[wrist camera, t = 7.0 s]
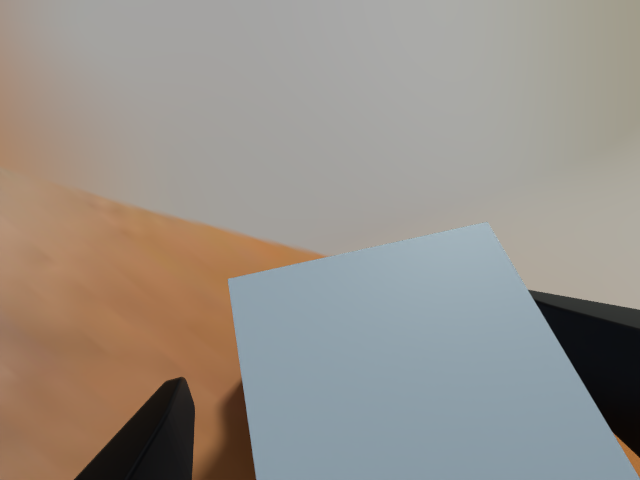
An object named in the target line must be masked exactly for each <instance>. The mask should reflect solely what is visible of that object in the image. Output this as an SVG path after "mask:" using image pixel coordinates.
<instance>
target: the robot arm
mask: <svg viewBox="0 0 640 480" xmlns="http://www.w3.org/2000/svg"><path fill="white" fill-rule="evenodd" d="M528 291H529V293H530V295H531V296H532V298H533V300H534V301H535V303H536V305H537V306H538V308H539V310H540V311H541V313H542V315H543V316H544V318H545V320H546V321H547V323H548V325H549V327H550V328H551V330H552V332H553V333H554V335H555V337H556V338H557V340H558V342H559V343H560V345H561V347H562V348H563V350H564V352H565V354H566V355H567V357H568V359H569V360H570V362H571V364H572V365H573V367H574V369H575V370H576V372H577V374H578V375H579V377H580V379H581V380H582V382H583V384H584V386H585V387H586V389H587V391H588V392H589V394H590V396H591V397H592V399H593V401H594V402H595V404H596V406H597V407H598V409H599V411H600V412H601V414H602V416H603V418H604V419H605V421H606V423H607V424H608V426H609V428H610V429H611V431H612V432H613V433H614V434H615V435H616V436H617V437H618V438H619V439H620V440H621V441H622V442H623V443H625V444H626V445H627V446H628V447H629V448H630V449H631V450H632V451H633V452H634V453H635V454H636V455H637V456H638V457H639V458H640V310H637V309H632V308H627V307H621V306H616V305H609V304H604V303H598V302H592V301H588V300H582V299H576V298H571V297H565V296H560V295H554V294H548V293H543V292H537V291H532V290H528ZM194 422H195V407H194V402H193V399H192V396H191V393H190V390H189V387H188V384H187V381H186V379H185V378H184V377H179V378H175V379H171V380H168V381H166V382H165V383H163V384H162V386H161V387H160V388H159V389H158V390H157V391H156V392H155V393H154V394H153V395H152V396H151V397H150V398H149V400H148V401H147V402H146V403H145V404H144V405H143V406H142V407H141V408H140V409H139V410H138V411H137V412H136V413H135V415H134V416H133V417H132V418H131V419H130V420H129V421H128V422H127V423H126V424H125V425H124V426H123V427H122V428H121V430H120V431H119V432H118V433H117V434H116V435H115V436H114V437H113V438H112V439H111V440H110V441H109V442H108V444H107V445H106V446H105V447H104V448H103V449H102V450H101V451H100V452H99V453H98V454H97V455H96V456H95V457H94V459H93V460H92V461H91V462H90V463H89V464H88V465H87V466H86V467H85V468H84V469H83V470H82V471H81V473H80V474H79V475H78V476H77V477H76V478H75V479H74V480H192V466H193V444H194Z"/></svg>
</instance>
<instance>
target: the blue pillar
mask: <svg viewBox="0 0 640 480" xmlns="http://www.w3.org/2000/svg"><path fill="white" fill-rule="evenodd" d="M228 284H229V291H230V298H231V305H232V312H233V319H234V326H235V333H236V340H237V347H238V354H239V361H240V368H241V375H242V382H243V389H244V396H245V403H246V410H247V417H248V424H249V431H250V438H251V445H252V452H253V459H254V466H255V473H256V480H640V478H639V477H638V475H637V473H636V471H635V470H634V468H633V466H632V465H631V463H630V461H629V460H628V458H627V456H626V455H625V453H624V451H623V450H622V448H621V446H620V445H619V443H618V441H617V439H616V438H615V436H614V434H613V433H612V431H611V429H610V428H609V426H608V424H607V423H606V421H605V419H604V418H603V416H602V414H601V412H600V411H599V409H598V407H597V406H596V404H595V402H594V401H593V399H592V397H591V396H590V394H589V392H588V391H587V389H586V387H585V386H584V384H583V382H582V380H581V379H580V377H579V375H578V374H577V372H576V370H575V369H574V367H573V365H572V364H571V362H570V360H569V359H568V357H567V355H566V354H565V352H564V350H563V348H562V347H561V345H560V343H559V342H558V340H557V338H556V337H555V335H554V333H553V332H552V330H551V328H550V327H549V325H548V323H547V321H546V320H545V318H544V316H543V315H542V313H541V311H540V310H539V308H538V306H537V305H536V303H535V301H534V300H533V298H532V296H531V295H530V293H529V291H528V289H527V288H526V286H525V284H524V283H523V281H522V279H521V278H520V276H519V275H518V273H517V271H516V269H515V268H514V266H513V264H512V262H511V261H510V259H509V258H508V256H507V254H506V252H505V251H504V249H503V247H502V246H501V244H500V242H499V241H498V239H497V237H496V236H495V234H494V232H493V231H492V229H491V227H490V225H489V224H488V222H485V223H480V224H475V225H470V226H466V227H461V228H457V229H452V230H448V231H443V232H439V233H434V234H430V235H425V236H421V237H416V238H412V239H408V240H402V241H398V242H394V243H389V244H385V245H380V246H375V247H371V248H366V249H362V250H357V251H353V252H348V253H344V254H339V255H334V256H330V257H325V258H321V259H316V260H312V261H307V262H303V263H298V264H294V265H289V266H285V267H280V268H276V269H271V270H267V271H262V272H257V273H253V274H248V275H244V276H239V277H235V278H230V279H228Z"/></svg>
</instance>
